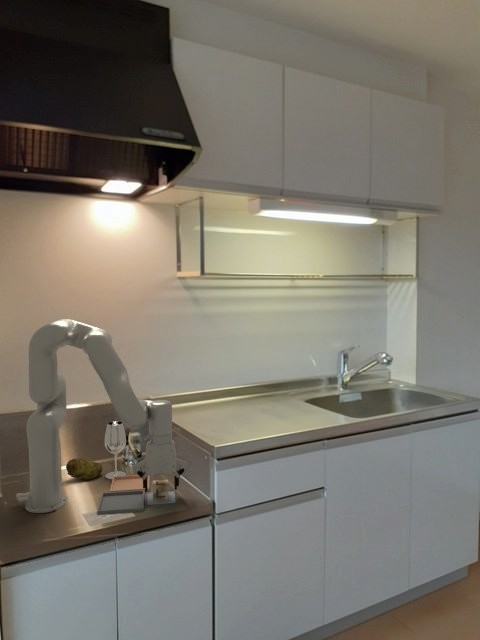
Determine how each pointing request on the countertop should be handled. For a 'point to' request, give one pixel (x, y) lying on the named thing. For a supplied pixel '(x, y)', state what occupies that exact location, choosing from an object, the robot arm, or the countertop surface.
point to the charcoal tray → (121, 502)
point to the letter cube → (160, 490)
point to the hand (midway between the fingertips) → (161, 489)
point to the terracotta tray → (128, 483)
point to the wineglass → (115, 443)
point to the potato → (83, 469)
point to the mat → (171, 500)
